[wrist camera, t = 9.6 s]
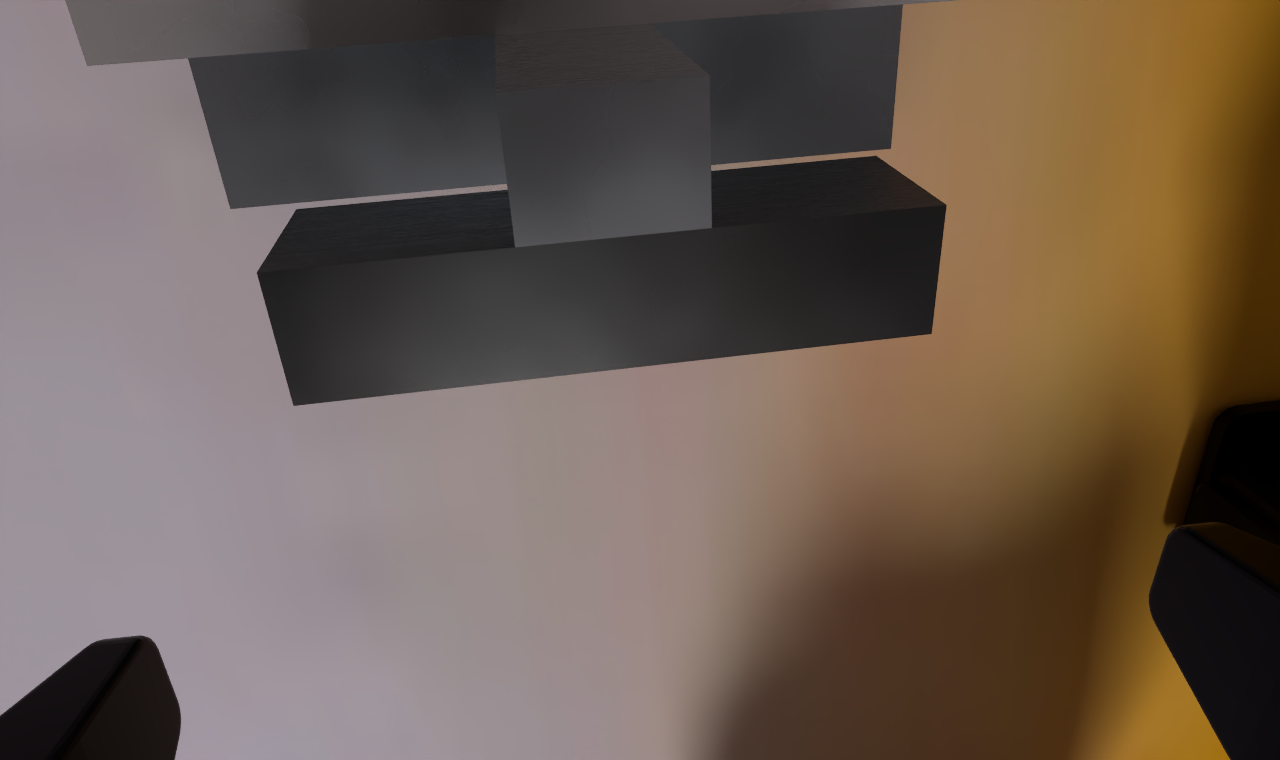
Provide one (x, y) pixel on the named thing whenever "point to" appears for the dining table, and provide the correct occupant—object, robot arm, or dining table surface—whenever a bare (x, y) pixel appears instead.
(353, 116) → the vise
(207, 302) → the dining table surface
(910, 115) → the dining table surface
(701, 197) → the vise jaw
